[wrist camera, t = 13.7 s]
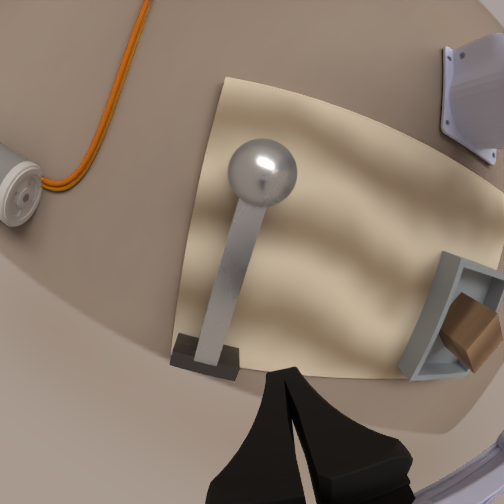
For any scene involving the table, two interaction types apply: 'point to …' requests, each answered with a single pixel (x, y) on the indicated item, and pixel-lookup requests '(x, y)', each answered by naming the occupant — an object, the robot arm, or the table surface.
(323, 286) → the base board
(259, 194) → the crank lever
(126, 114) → the table surface
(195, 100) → the table surface
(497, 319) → the block
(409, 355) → the tray
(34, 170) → the motor
